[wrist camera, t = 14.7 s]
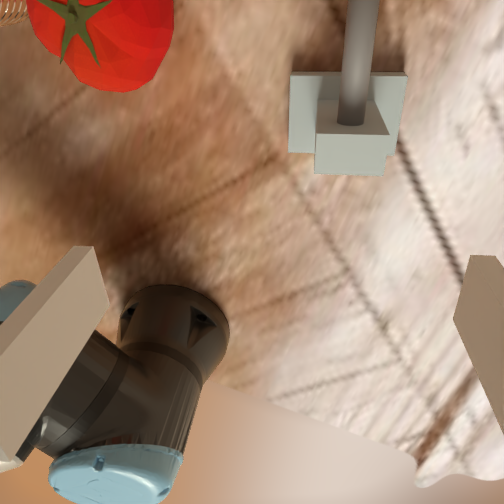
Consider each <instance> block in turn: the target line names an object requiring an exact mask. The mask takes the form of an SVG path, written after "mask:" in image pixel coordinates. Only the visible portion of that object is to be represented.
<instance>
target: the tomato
mask: <svg viewBox="0 0 504 504" xmlns="http://www.w3.org/2000/svg"><path fill="white" fill-rule="evenodd" d="M26 5H27V12H28V15H29V18H30V21H31V24H32V27H33V30H34V33H35V35H36V36H37V37H38V39H39V40H40V41H41V42H42V43H43V45H44V46H45V47H46V48H47V49H48V50H49V52H51V53H53V54H55V55H57V56H59V57H61V60H60V63H61V62H62V60H64V61H65V62H66V64H67V65H68V66H69V68H70V69H71V70H72V72H73V73H74V74H75V76H76V77H77V78H78V80H79V81H80V82H82V83H85V84H87V85H89V86H92V87H94V88H96V89H99V90H104V91H114V92H128V91H132V90H136V89H138V88H139V87H141V86H142V85H144V84H145V83H147V82H148V81H150V80H152V79H153V77H154V75H155V73H156V71H157V69H158V67H159V66H160V64H161V62H162V60H163V58H164V56H165V54H166V52H167V50H168V49H169V47H170V43H171V39H172V34H173V30H174V9H173V0H26Z"/></svg>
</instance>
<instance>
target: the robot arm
mask: <svg viewBox="0 0 504 504" xmlns="http://www.w3.org/2000/svg"><path fill="white" fill-rule="evenodd" d="M109 306H110V303H109V299H108V296H107V292H106V289H105V285H104V282H103V278H102V275H101V271H100V268H99V264H98V261H97V257H96V254H95V250H94V247H93V246H73V247H72V248H71V249H70V250H69V252H68V253H67V254H66V255H65V256H64V257H63V258H62V259H61V260H60V261H59V262H58V263H57V265H56V266H55V267H54V268H53V269H52V270H51V271H50V272H49V273H48V274H47V275H46V276H45V278H44V279H43V280H42V281H41V282H40V283H39V284H38V285H35V284H34V283H32V282H30V281H26V280H15V281H12V282H9V283H7V284H5V285H4V286H2V287H1V288H0V473H1V472H4V471H7V470H10V469H13V468H16V467H19V466H21V465H22V464H23V462H24V461H25V460H26V458H27V457H28V456H29V454H30V453H31V452H32V450H33V449H34V448H35V447H36V448H37V449H39V450H41V451H42V452H44V453H45V454H47V455H49V456H51V457H52V458H53V459H54V461H53V462H52V464H51V465H50V467H49V476H48V481H49V484H50V485H51V486H52V487H53V488H54V490H55V492H56V493H58V494H59V495H61V496H62V497H64V498H66V499H68V500H70V501H72V502H75V503H77V504H158V503H160V502H161V501H162V500H163V499H164V498H165V497H166V496H167V495H168V494H169V492H170V490H171V488H172V486H173V483H174V480H175V478H176V475H177V472H178V470H179V467H180V465H181V464H182V462H183V453H184V450H185V447H186V443H187V439H188V435H189V432H190V429H191V425H192V421H193V418H194V415H195V411H196V407H197V404H198V400H199V397H200V393H201V390H202V386H203V384H204V383H205V382H206V381H207V379H208V378H209V377H210V375H211V374H212V373H213V371H214V370H215V369H216V367H217V366H218V365H219V363H220V362H221V361H222V359H223V357H224V355H225V353H226V350H227V346H228V342H229V326H228V323H227V321H226V319H225V317H224V315H223V314H222V312H221V311H220V310H219V308H218V307H217V306H216V305H215V304H214V303H213V302H211V301H210V300H209V299H207V298H206V297H204V296H203V295H201V294H199V293H197V292H195V291H193V290H190V289H187V288H184V287H180V286H174V285H156V286H151V287H148V288H145V289H143V290H141V291H139V292H137V293H136V294H135V295H133V296H132V297H131V299H130V300H129V301H128V303H127V305H126V306H125V308H124V310H123V312H122V314H121V316H120V319H119V325H118V333H117V341H116V345H115V344H113V343H112V342H111V341H109V340H108V339H107V338H106V337H104V336H103V335H102V334H100V333H99V332H98V331H97V330H95V328H96V326H97V325H98V323H99V322H100V320H101V319H102V317H103V315H104V314H105V312H106V311H107V309H108V308H109ZM453 321H454V323H455V325H456V328H457V330H458V332H459V334H460V337H461V339H462V341H463V343H464V346H465V348H466V350H467V352H468V355H469V357H470V359H471V362H472V364H473V366H474V368H475V371H476V373H477V375H478V377H479V380H480V382H481V384H482V387H483V389H484V391H485V393H486V396H487V398H488V400H489V402H490V405H491V407H492V409H493V411H494V414H495V416H496V418H497V421H498V423H499V425H500V427H501V430H502V432H503V434H504V268H503V266H502V265H501V263H500V262H499V261H498V259H497V258H496V256H483V255H470V259H469V262H468V266H467V270H466V273H465V277H464V280H463V284H462V288H461V291H460V295H459V299H458V302H457V306H456V309H455V313H454V317H453Z"/></svg>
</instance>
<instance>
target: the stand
mask: <svg viewBox="0 0 504 504" xmlns="http://www.w3.org/2000/svg"><path fill="white" fill-rule="evenodd" d="M379 1H380V0H348V7H347V17H346V28H345V39H344V50H343V61H342V72H301V71H292V72H291V75H290V105H289V139H288V152H290V153H315V157H314V174H333V175H362V176H384V170H385V163H386V157H387V155H393V156H394V154H395V148H396V142H397V136H398V131H399V125H400V119H401V113H402V108H403V102H404V96H405V90H406V85H407V79H408V76H407V75H406V74H405V72H371V64H372V56H373V48H374V40H375V33H376V25H377V17H378V9H379Z"/></svg>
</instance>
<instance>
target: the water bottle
mask: <svg viewBox="0 0 504 504" xmlns="http://www.w3.org/2000/svg"><path fill="white" fill-rule="evenodd" d="M28 17H29V15H28V12H27V5H26V0H0V26H6V25H13V24H16V23H20V22H22V21H24V20H26V19H27V18H28Z"/></svg>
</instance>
